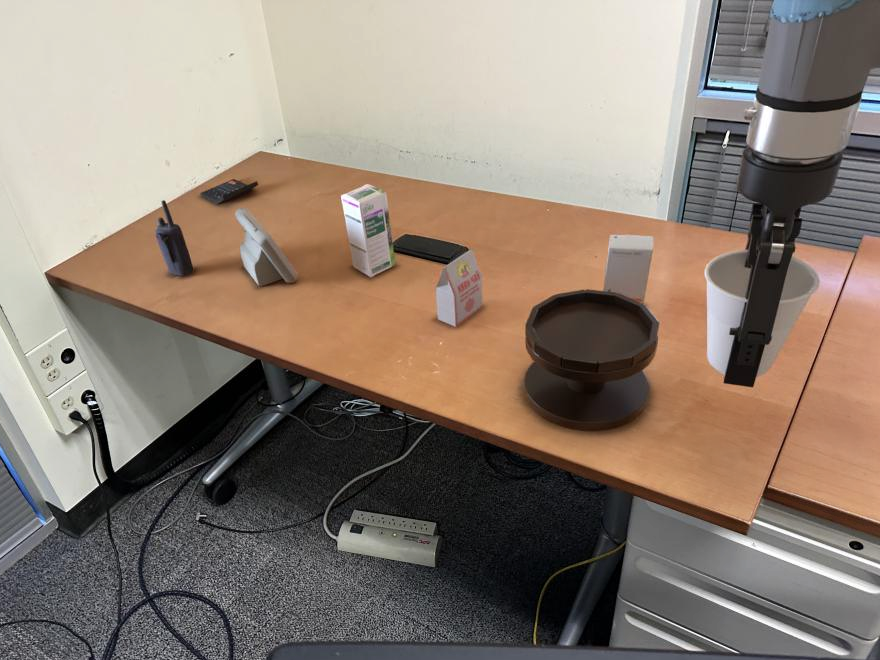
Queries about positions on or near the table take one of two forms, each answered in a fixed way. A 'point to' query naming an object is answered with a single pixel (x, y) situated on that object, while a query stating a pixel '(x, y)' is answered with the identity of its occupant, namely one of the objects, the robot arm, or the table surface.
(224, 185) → the calculator
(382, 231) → the syrup box
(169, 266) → the two-way radio
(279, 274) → the digital clock
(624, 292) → the cosmetic box
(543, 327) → the cup stand
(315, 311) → the table surface
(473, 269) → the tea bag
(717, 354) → the cup
